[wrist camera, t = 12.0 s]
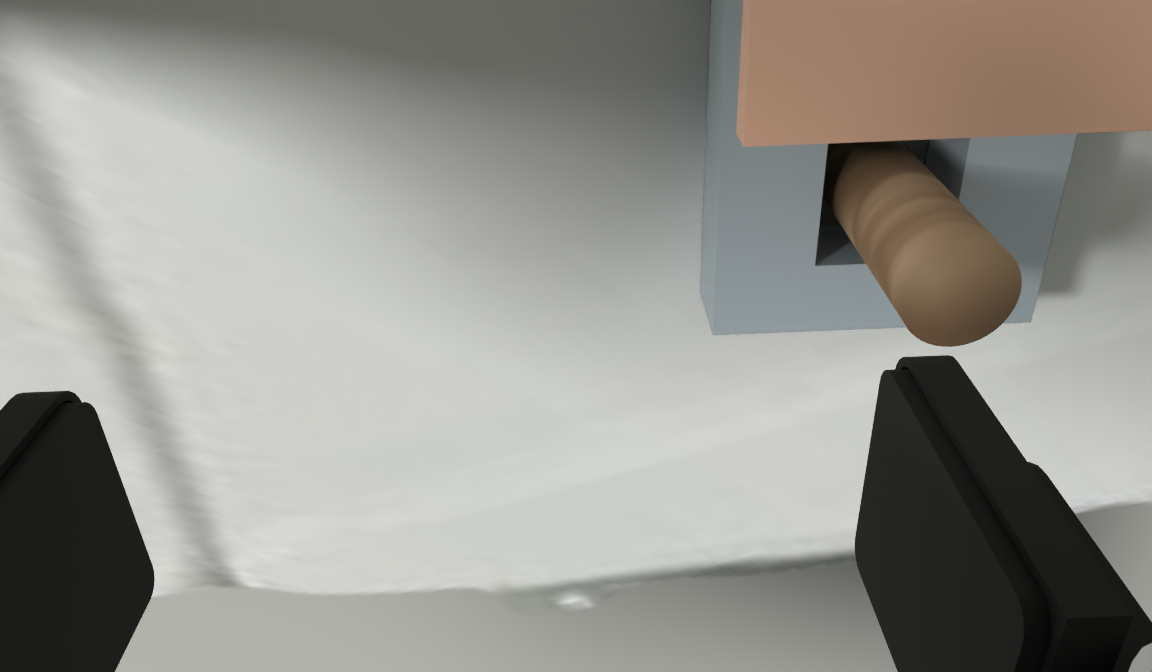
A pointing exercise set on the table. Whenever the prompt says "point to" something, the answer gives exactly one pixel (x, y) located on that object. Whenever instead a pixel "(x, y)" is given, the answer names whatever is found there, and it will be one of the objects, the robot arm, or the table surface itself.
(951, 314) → the peg
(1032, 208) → the socket deck
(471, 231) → the table surface
